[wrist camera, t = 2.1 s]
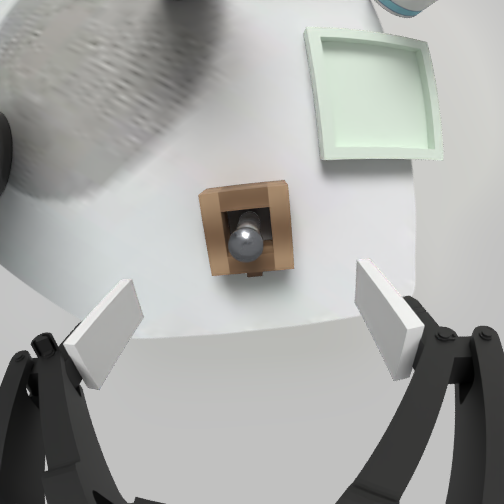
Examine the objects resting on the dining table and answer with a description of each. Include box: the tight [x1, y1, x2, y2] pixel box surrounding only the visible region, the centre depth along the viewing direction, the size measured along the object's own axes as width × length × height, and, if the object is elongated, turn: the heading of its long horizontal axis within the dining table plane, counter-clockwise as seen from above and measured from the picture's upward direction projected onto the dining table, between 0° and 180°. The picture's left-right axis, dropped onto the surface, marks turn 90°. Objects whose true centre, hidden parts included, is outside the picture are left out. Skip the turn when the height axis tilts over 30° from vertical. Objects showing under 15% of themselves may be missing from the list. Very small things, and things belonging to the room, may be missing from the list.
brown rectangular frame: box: [198, 180, 294, 277], centre depth 28 cm, size 10×8×4 cm
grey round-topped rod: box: [228, 211, 263, 262], centre depth 26 cm, size 3×3×8 cm
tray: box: [304, 27, 443, 161], centre depth 23 cm, size 14×14×2 cm
